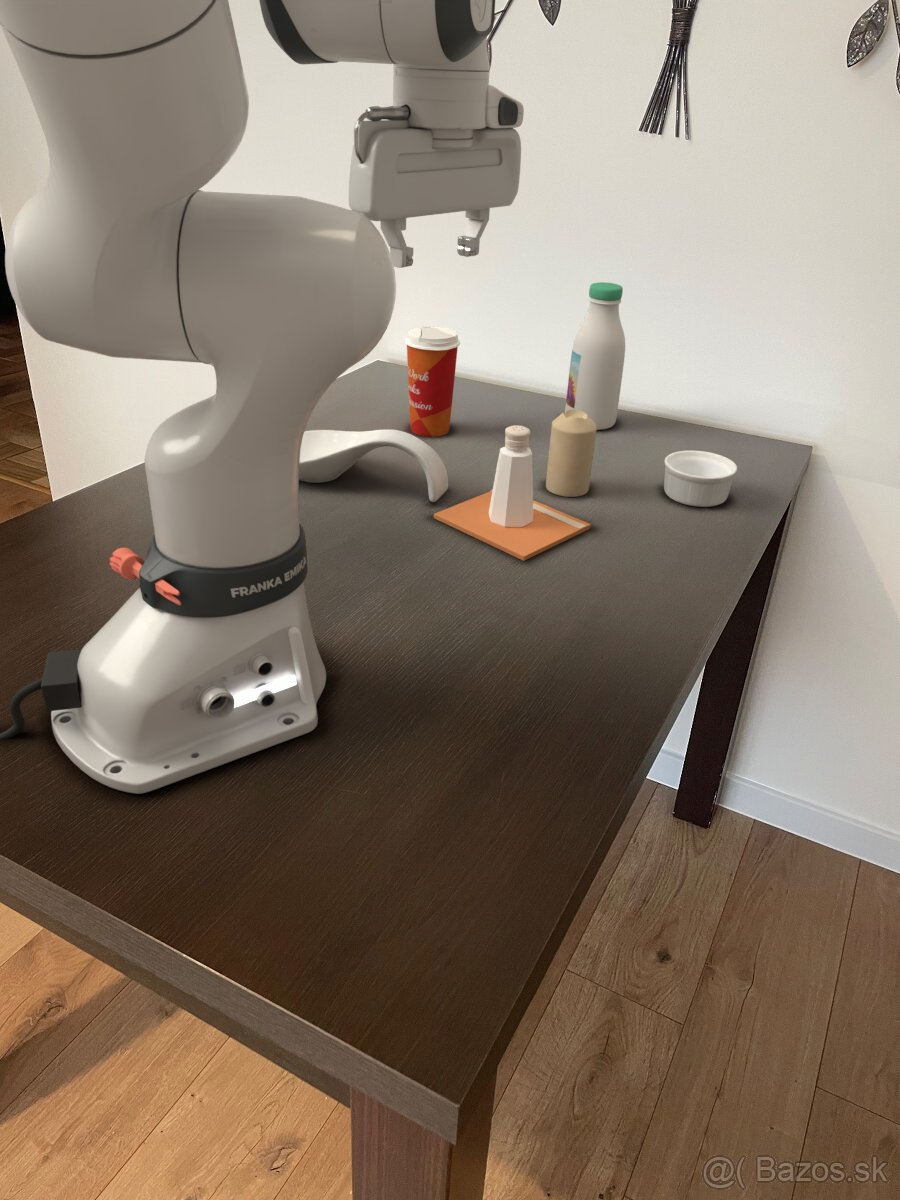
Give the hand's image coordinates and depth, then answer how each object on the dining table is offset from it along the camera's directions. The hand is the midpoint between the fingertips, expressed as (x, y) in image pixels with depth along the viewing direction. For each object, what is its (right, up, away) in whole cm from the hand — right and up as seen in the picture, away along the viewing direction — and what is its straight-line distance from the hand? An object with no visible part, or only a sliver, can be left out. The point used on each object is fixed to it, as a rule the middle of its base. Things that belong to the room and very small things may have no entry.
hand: (435, 260), depth 93 cm
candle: (+16, -20, +25) cm, 36 cm away
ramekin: (+33, -21, +25) cm, 46 cm away
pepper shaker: (+9, -25, +15) cm, 30 cm away
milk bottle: (+23, -8, +46) cm, 52 cm away
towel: (+9, -25, +15) cm, 31 cm away
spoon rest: (-10, -19, +24) cm, 32 cm away
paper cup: (-1, -10, +41) cm, 42 cm away
